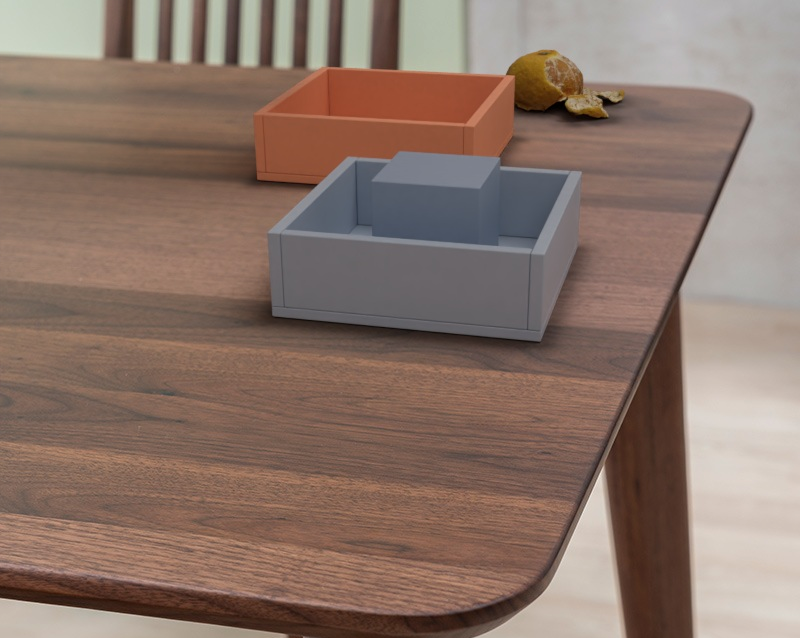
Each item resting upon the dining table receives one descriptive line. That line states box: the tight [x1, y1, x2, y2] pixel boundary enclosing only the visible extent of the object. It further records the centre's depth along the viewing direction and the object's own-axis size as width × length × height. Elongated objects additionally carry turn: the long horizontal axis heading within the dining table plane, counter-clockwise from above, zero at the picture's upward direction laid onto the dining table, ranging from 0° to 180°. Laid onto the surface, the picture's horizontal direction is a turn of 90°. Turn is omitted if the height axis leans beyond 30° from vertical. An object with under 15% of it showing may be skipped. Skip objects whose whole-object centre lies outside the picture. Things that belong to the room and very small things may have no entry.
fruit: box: [505, 49, 626, 119], centre depth 90 cm, size 8×8×4 cm
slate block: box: [371, 151, 502, 246], centre depth 59 cm, size 5×5×5 cm
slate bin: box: [266, 157, 583, 343], centre depth 60 cm, size 12×12×4 cm
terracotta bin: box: [252, 66, 515, 185], centre depth 79 cm, size 13×13×4 cm
